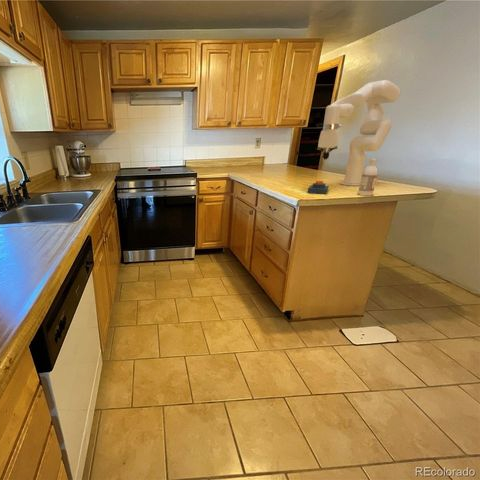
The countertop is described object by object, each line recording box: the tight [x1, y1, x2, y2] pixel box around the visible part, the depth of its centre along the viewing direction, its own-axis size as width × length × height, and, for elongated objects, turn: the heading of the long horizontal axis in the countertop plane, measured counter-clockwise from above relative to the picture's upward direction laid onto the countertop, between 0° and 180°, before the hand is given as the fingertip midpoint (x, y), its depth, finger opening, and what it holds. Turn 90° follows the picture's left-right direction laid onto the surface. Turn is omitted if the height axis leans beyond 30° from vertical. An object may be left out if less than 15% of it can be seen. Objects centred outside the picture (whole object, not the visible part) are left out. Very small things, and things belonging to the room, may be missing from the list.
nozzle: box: [315, 180, 324, 184], centre depth 165 cm, size 4×4×2 cm
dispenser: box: [307, 182, 330, 195], centre depth 166 cm, size 13×10×5 cm
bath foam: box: [357, 158, 379, 196], centre depth 151 cm, size 7×7×20 cm
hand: (325, 159), depth 166 cm, fingers closed
